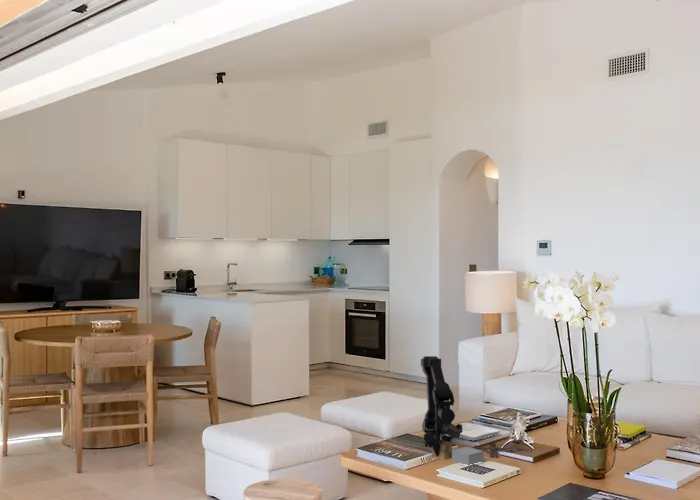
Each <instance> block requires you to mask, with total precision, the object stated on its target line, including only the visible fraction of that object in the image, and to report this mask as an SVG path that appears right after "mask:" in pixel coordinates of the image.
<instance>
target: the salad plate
mask: <svg viewBox="0 0 700 500" xmlns="http://www.w3.org/2000/svg"><path fill="white" fill-rule="evenodd" d="M457 424H458V423H457ZM457 424H455V425H457ZM459 424H461V425H462V431H472V430H476V431H482V432H489V433H487V434H483V435H480V436H477V437H470V436H467V435H463V434H460V436H459V438H458V439H460V438H463V439H462V440H464V439H467V440H466V441H468V440H472V441H471V442H475V441H474V440H477V441H479V440H478V439H481V440H483V439H482V438H484V439H486V438H485V437H488V436H491V435H494V436H496V435H498V434H500V432H501V431H502V430H501V429H498V428H493V427H489V426H485V425H482V424H476V423H473V422H472V423H471V422H461V423H460V422H459ZM495 434H496V435H495ZM491 437H492V436H491ZM488 438H489V437H488Z"/></svg>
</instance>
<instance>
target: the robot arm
mask: <svg viewBox="0 0 700 500" xmlns="http://www.w3.org/2000/svg"><path fill="white" fill-rule="evenodd" d="M420 367H421V368H422V369H421V370H422V372H423V373H424V375H425V377H426V392H427V393H426V396H427V410H426V412H425V414H424V418H423V421H422V424H421V427H422V430H421V431H422V432H423V433H424V434H423V440H424V441H425V442H424V443H423V444H425V445H429V446H428V447H430V446H432V447H431V449H432V448H433V450H434V452H435V454H436V456H439V450H440V444H441V443H442V442H443V441H448V442H452V441H453V439H458V438H457V437H459V436H460V433H462V432H463V431H462V425H461V424H460V423H457V425H456V424H452V422H454V421H455V418H456V414H455V412H454V411H453V409H451V406H455V405H454V404H455V397H454V392H453V391H452V389H451V388H450V384H449V383H448V382H446V381H445V377H444V373H443V369H442V358H439V357H438V356H437V355H436V356H435V355H434V356H433V355H432V356H429V355H428V356H426V355H425V356H423V357H422V358H420ZM441 440H443V441H441ZM425 445H424V446H425Z"/></svg>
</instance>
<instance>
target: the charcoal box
mask: <svg viewBox="0 0 700 500" xmlns="http://www.w3.org/2000/svg"><path fill="white" fill-rule="evenodd" d="M451 462H452V463H454V464H458V463H462V464H467V465H470V464H474V463H478V462H483V463H484V450H482V449H474V448H472V447H470V446H467V445H466V446H462V447H459V448H455V449H452V457H451Z"/></svg>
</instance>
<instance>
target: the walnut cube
mask: <svg viewBox="0 0 700 500" xmlns="http://www.w3.org/2000/svg"><path fill="white" fill-rule="evenodd" d="M440 440H441V441H443V440H442V439H440ZM452 450H453V442H452V441H451V442H448V441H443V442H442V443H441V444H440V450H439V456H436V454H435V452H434V450H433V448H432V447H431V458H435V459H440V460H442V461H443V460H447V459H449V458H452Z"/></svg>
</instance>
